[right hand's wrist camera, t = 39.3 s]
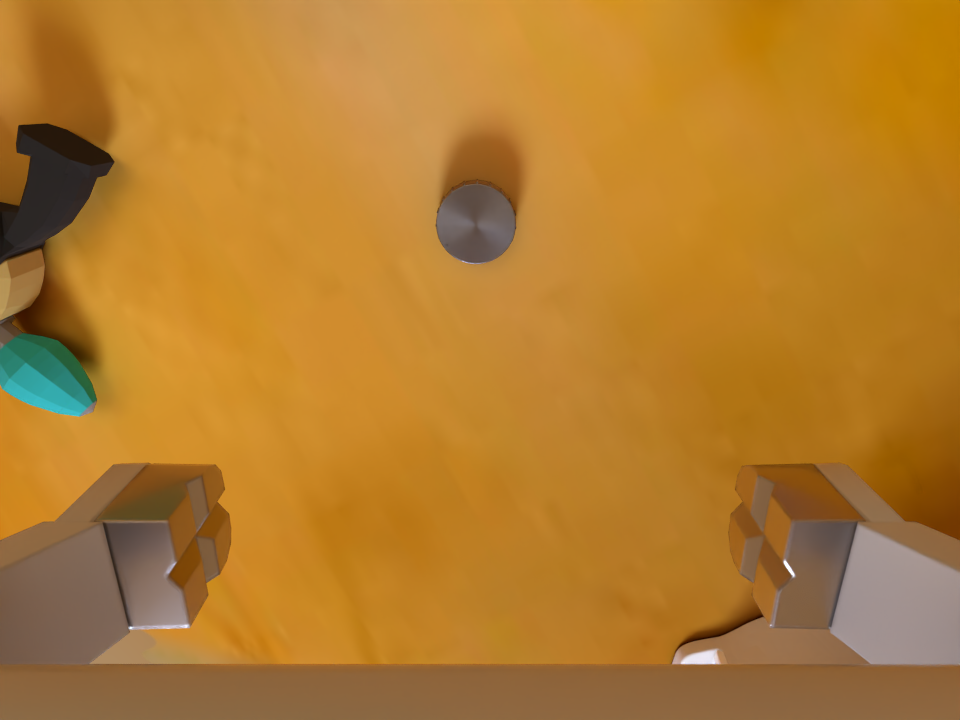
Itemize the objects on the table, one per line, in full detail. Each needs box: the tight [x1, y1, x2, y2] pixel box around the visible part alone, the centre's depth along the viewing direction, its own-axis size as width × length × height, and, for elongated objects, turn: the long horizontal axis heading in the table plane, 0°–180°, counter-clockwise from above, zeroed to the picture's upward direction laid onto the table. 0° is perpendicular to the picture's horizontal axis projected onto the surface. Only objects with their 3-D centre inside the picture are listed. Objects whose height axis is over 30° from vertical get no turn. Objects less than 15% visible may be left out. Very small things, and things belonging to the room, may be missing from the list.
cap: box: [436, 179, 516, 264], centre depth 36 cm, size 4×4×2 cm
